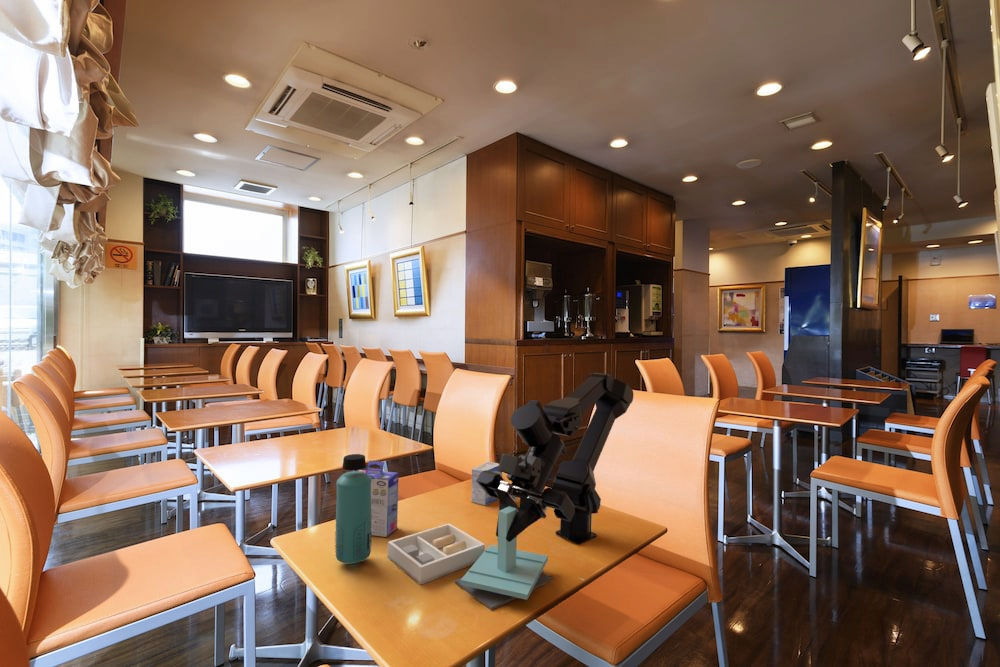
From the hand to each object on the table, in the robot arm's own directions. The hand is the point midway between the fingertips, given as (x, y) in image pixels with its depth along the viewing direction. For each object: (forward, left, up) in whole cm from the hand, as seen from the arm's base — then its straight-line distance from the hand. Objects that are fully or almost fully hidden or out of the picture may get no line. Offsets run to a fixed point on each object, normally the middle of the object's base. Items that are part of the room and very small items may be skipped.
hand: (502, 538), depth 80 cm
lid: (-1, 0, -6) cm, 6 cm away
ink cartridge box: (+8, -34, -8) cm, 36 cm away
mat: (-1, -1, -8) cm, 8 cm away
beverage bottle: (+17, -23, -8) cm, 29 cm away
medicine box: (-23, -33, -8) cm, 41 cm away
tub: (+4, -15, -8) cm, 17 cm away
